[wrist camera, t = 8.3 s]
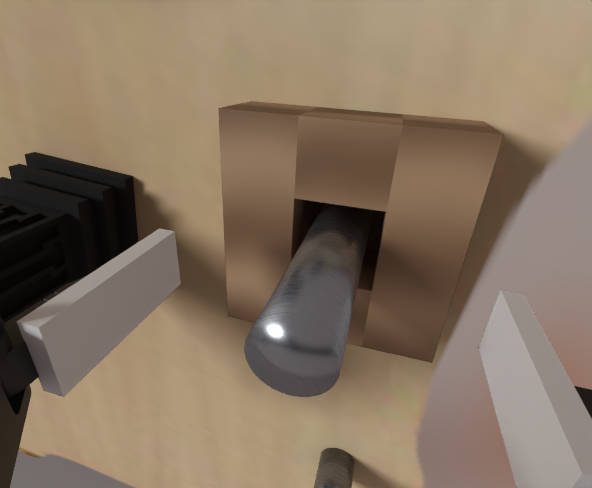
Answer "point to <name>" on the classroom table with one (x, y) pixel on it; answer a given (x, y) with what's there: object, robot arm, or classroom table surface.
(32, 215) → the chess piece
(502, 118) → the classroom table surface
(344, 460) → the short pin
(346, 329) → the long pin
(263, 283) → the hole block
